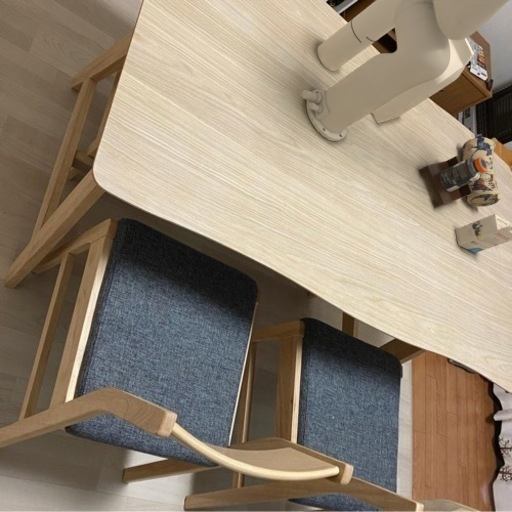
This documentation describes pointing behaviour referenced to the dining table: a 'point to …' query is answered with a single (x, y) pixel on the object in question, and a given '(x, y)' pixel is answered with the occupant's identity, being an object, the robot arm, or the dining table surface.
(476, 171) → the pill bottle
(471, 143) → the pencil case
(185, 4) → the dining table surface
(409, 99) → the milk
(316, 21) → the dining table surface
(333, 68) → the cylindrical container
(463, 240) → the ink box
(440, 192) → the shelf
